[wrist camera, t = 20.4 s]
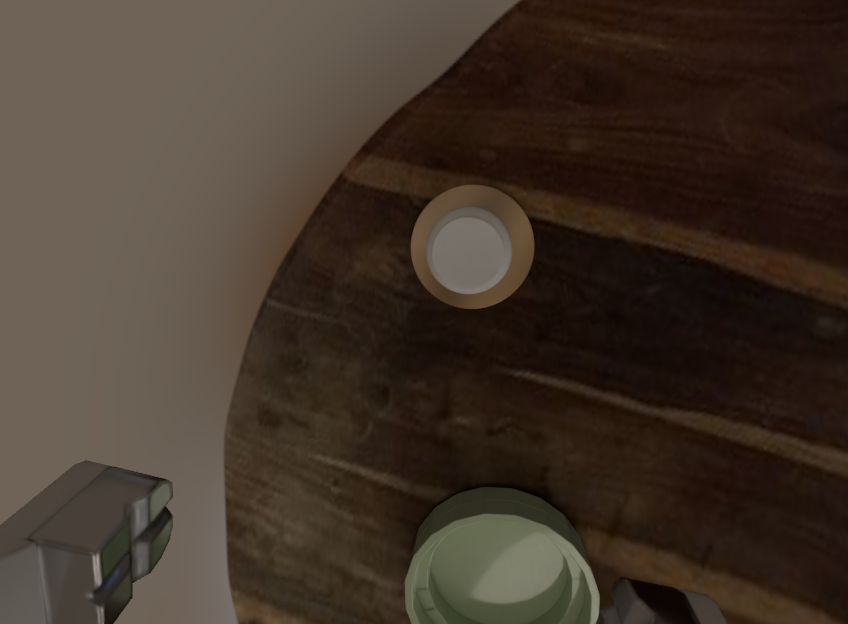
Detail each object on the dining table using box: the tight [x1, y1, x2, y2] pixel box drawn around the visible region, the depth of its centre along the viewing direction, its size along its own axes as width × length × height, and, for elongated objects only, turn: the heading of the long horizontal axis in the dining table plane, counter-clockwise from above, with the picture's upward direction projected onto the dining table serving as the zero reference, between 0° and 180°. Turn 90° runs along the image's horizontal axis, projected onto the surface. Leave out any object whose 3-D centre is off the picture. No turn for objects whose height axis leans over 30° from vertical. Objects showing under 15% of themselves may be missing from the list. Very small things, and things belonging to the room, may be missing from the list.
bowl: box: [405, 487, 600, 624], centre depth 35 cm, size 14×14×4 cm
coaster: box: [411, 185, 534, 309], centre depth 33 cm, size 9×9×1 cm
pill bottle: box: [426, 207, 512, 294], centre depth 28 cm, size 5×5×9 cm
